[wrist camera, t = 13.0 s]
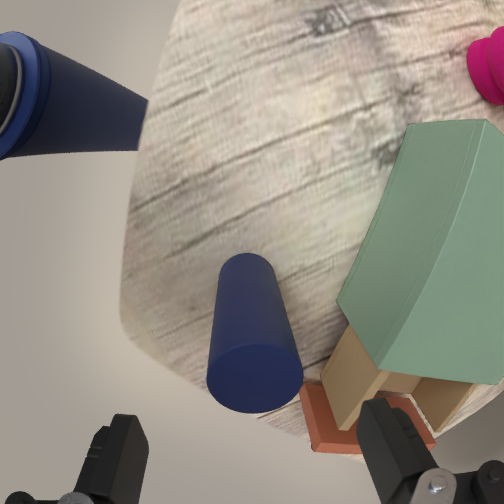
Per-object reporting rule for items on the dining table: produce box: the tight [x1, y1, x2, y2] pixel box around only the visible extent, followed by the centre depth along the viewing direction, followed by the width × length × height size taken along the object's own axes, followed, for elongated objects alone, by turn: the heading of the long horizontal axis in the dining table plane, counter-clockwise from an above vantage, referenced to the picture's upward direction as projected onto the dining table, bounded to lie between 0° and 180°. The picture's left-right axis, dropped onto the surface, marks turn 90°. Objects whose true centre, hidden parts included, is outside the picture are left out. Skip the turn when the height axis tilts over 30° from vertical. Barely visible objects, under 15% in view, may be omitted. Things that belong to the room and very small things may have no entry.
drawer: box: [299, 323, 478, 454], centre depth 21 cm, size 18×12×7 cm
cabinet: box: [336, 119, 504, 385], centre depth 18 cm, size 15×14×9 cm
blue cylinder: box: [206, 253, 304, 414], centre depth 17 cm, size 4×4×11 cm
